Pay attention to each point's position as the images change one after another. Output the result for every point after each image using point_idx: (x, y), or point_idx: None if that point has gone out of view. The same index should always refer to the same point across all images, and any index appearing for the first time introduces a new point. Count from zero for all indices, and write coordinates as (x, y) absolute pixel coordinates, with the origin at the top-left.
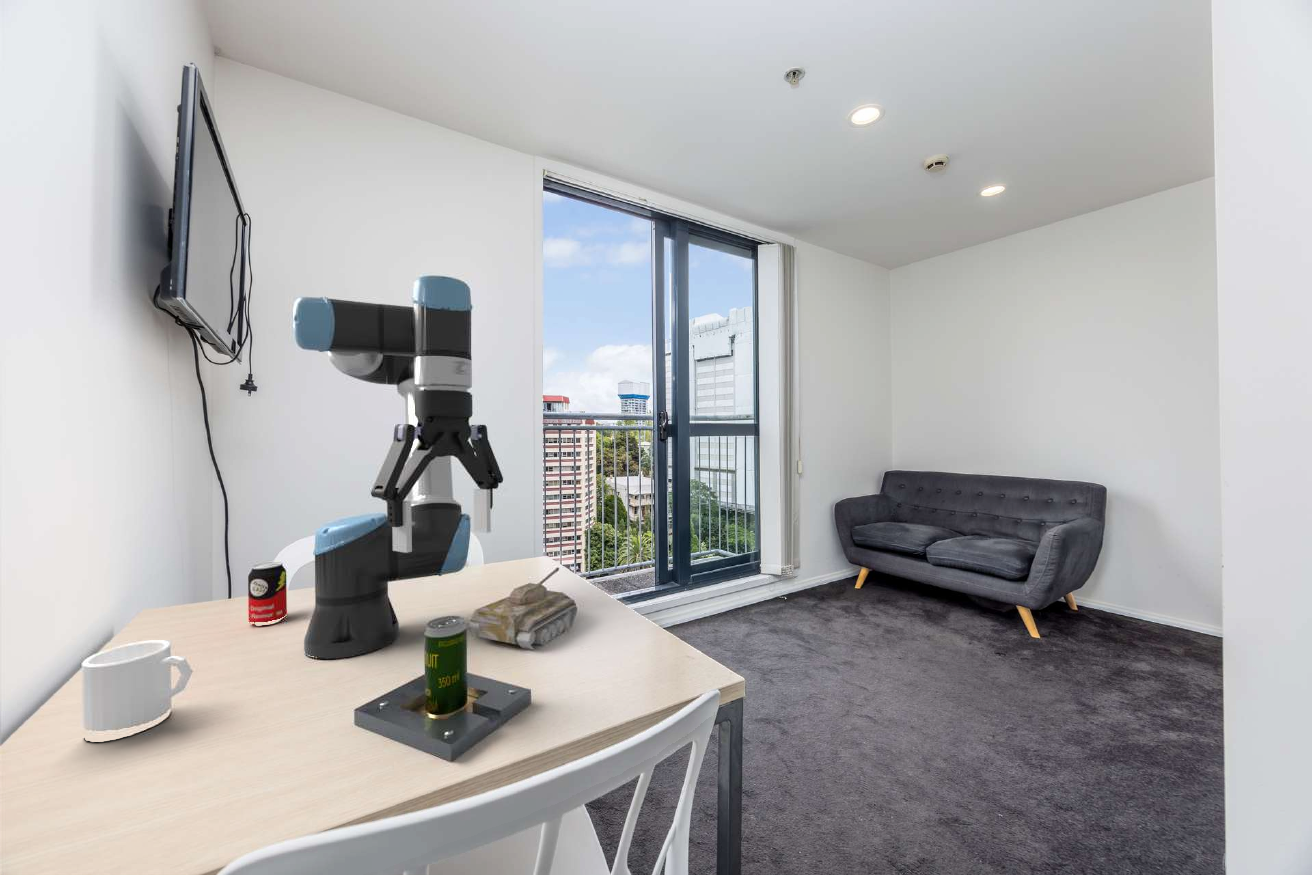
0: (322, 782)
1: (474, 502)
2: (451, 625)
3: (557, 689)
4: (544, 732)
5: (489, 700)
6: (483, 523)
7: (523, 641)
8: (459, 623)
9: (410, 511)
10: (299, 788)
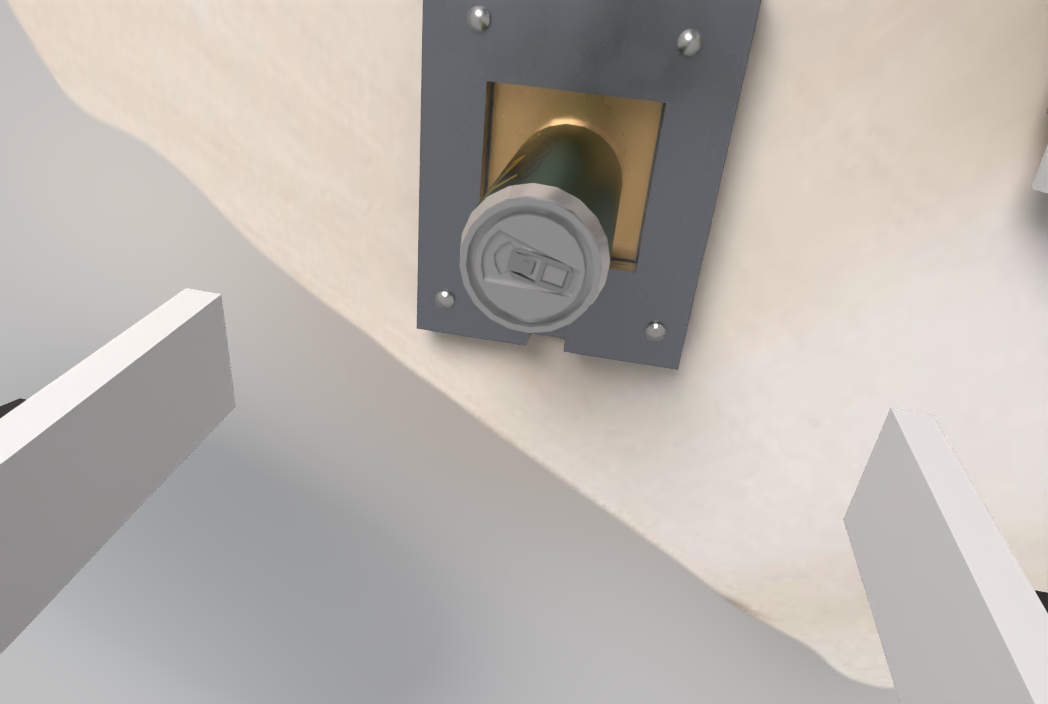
0: (268, 107)
1: (975, 610)
2: (511, 311)
3: (763, 379)
4: (577, 429)
5: (597, 299)
6: (873, 541)
7: (1041, 160)
8: (535, 327)
9: (55, 587)
10: (235, 76)
